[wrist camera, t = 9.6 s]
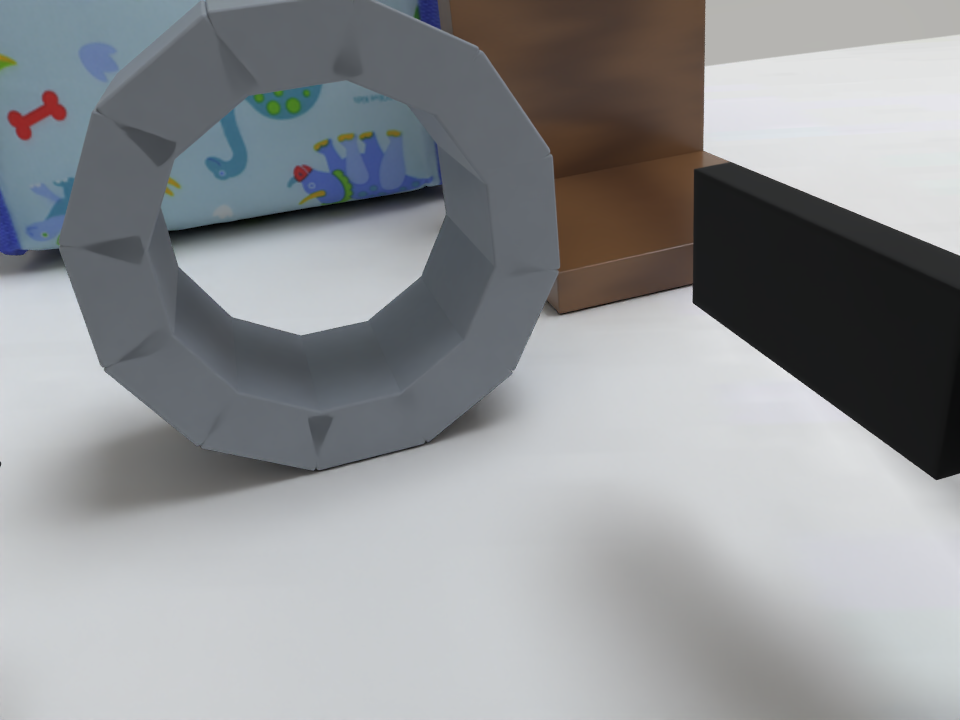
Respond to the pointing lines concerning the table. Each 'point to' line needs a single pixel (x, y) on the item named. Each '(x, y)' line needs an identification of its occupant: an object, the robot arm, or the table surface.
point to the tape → (335, 352)
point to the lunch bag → (215, 155)
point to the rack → (606, 129)
